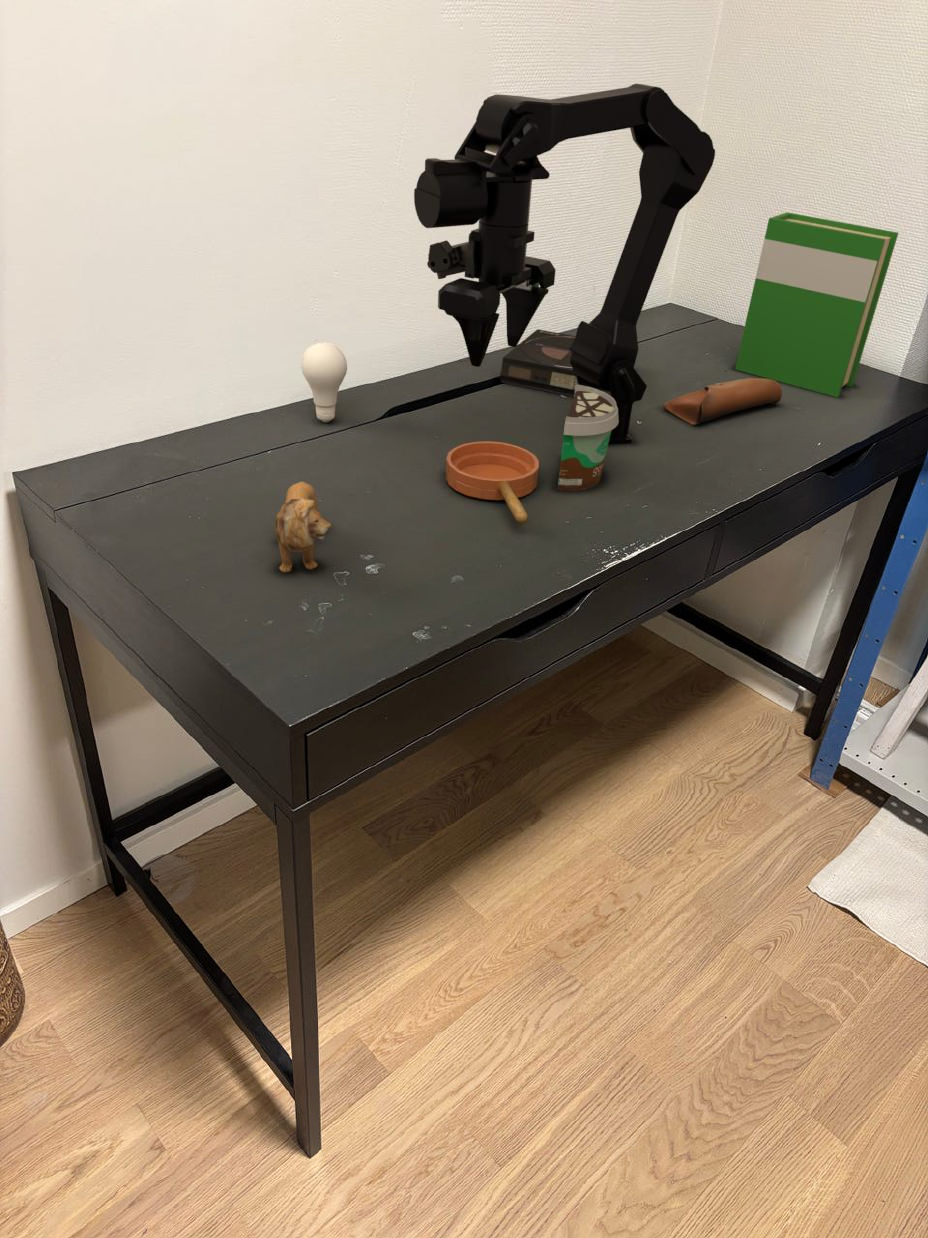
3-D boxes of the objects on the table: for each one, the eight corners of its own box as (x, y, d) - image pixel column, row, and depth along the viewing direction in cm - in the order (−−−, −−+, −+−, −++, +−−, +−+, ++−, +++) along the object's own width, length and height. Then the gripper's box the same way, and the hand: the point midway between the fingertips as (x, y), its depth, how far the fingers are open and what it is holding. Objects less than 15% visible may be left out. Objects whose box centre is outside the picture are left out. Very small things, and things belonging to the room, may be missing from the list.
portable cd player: (499, 383, 148) (501, 358, 145) (535, 352, 161) (537, 329, 159) (600, 403, 143) (604, 378, 141) (628, 370, 156) (632, 346, 154)
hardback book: (852, 385, 156) (898, 232, 143) (837, 397, 151) (883, 239, 138) (752, 359, 164) (787, 212, 151) (735, 369, 159) (769, 218, 146)
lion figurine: (333, 587, 96) (331, 508, 91) (280, 590, 95) (275, 511, 90) (318, 518, 108) (316, 445, 103) (271, 521, 107) (266, 447, 102)
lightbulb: (355, 417, 133) (354, 340, 127) (336, 433, 128) (334, 353, 122) (315, 410, 134) (313, 333, 128) (295, 425, 130) (292, 346, 123)
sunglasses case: (738, 385, 151) (763, 357, 146) (762, 419, 149) (789, 392, 144) (658, 405, 142) (682, 375, 137) (683, 442, 140) (708, 413, 135)
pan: (522, 460, 124) (524, 439, 123) (547, 500, 115) (550, 478, 113) (437, 464, 122) (438, 443, 120) (456, 505, 113) (457, 482, 111)
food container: (605, 502, 116) (617, 425, 110) (555, 494, 117) (565, 418, 111) (612, 461, 126) (624, 388, 120) (566, 454, 127) (576, 382, 121)
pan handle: (508, 489, 114) (508, 478, 113) (528, 525, 107) (529, 514, 106) (496, 489, 113) (497, 479, 113) (516, 525, 106) (517, 514, 105)
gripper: (482, 199, 118) (475, 324, 127) (399, 223, 104) (398, 362, 113) (563, 213, 113) (550, 341, 122) (487, 240, 100) (478, 382, 109)
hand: (494, 355), depth 117 cm, fingers open, 9 cm apart
